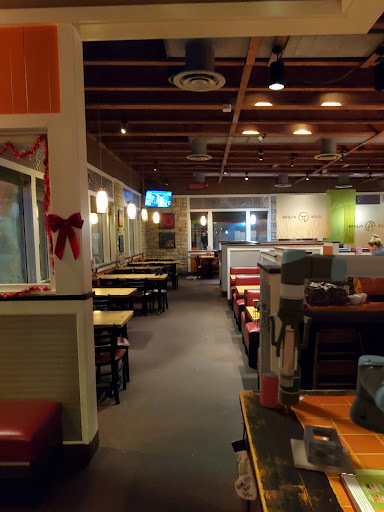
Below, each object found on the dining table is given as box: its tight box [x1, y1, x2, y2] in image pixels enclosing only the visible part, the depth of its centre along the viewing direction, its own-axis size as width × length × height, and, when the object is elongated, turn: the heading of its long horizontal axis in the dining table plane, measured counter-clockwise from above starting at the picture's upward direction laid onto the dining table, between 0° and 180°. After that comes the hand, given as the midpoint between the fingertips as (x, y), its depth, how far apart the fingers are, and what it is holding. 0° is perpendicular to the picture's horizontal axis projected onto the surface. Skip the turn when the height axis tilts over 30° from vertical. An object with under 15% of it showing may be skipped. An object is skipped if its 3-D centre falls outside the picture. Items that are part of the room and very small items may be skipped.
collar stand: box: [290, 424, 357, 476], centre depth 101 cm, size 16×12×7 cm
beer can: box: [259, 370, 280, 409], centre depth 132 cm, size 7×7×12 cm
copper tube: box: [279, 328, 296, 387], centre depth 113 cm, size 4×4×18 cm
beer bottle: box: [278, 341, 302, 406], centre depth 135 cm, size 8×8×24 cm
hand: (287, 367), depth 113 cm, fingers closed on copper tube, 4 cm apart
